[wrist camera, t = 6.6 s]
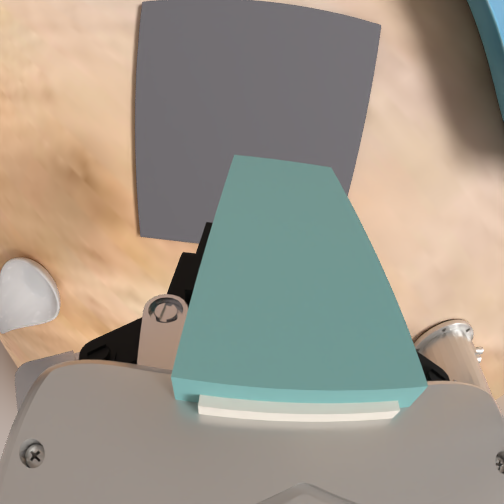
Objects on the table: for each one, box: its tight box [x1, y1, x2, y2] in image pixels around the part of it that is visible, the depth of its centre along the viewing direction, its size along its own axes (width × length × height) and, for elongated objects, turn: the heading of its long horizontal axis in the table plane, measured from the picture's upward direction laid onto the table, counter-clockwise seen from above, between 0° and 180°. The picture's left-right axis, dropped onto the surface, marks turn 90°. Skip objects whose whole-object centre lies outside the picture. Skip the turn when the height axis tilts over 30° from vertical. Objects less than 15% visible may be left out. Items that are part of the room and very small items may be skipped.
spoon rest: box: [0, 257, 60, 334], centre depth 40 cm, size 24×12×7 cm, turn 124°
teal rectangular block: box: [171, 155, 428, 422], centre depth 10 cm, size 4×7×10 cm, turn 174°
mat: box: [135, 0, 381, 243], centre depth 28 cm, size 22×26×1 cm
